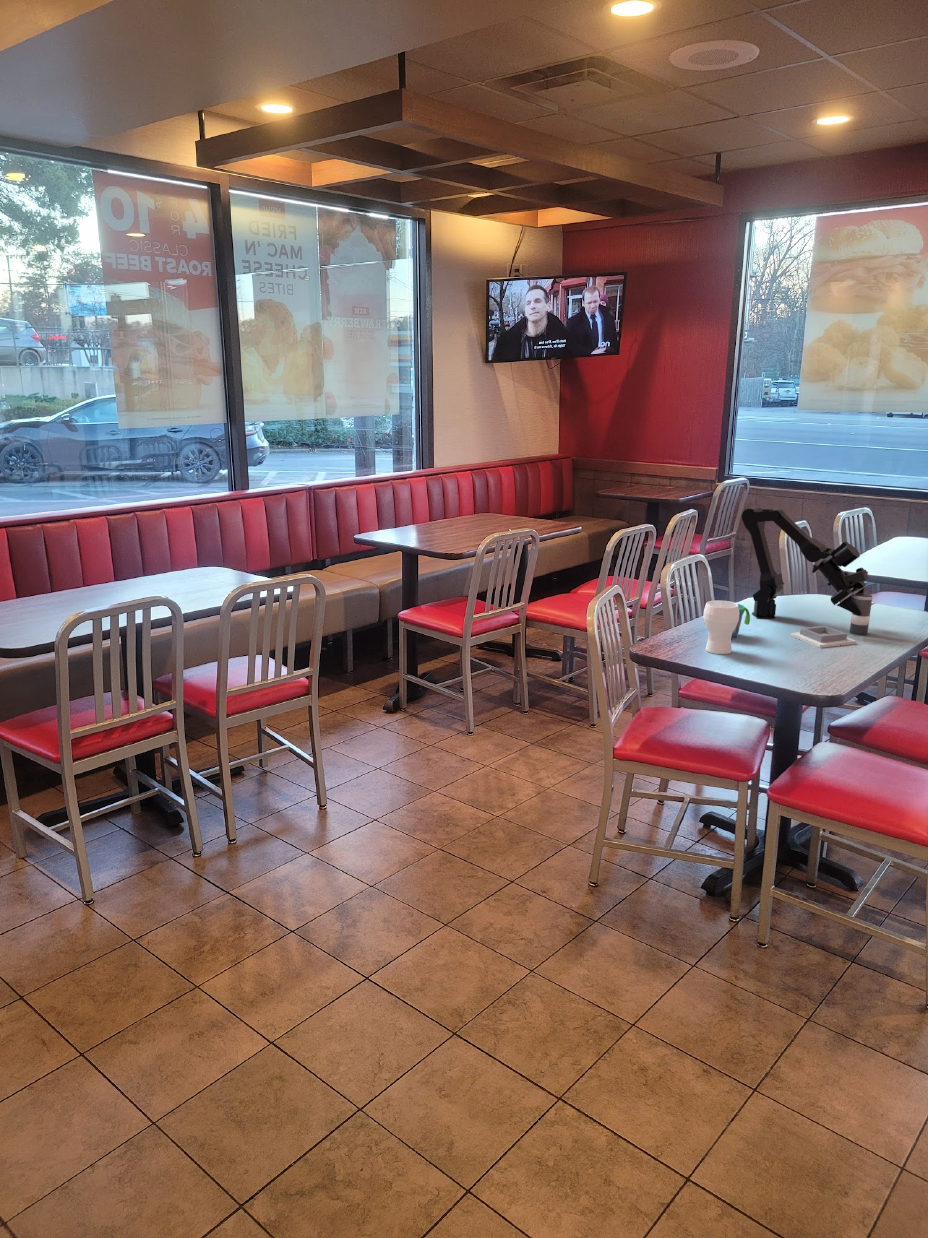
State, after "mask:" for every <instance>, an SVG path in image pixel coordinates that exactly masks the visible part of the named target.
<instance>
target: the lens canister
mask: <svg viewBox="0 0 928 1238" xmlns="http://www.w3.org/2000/svg"><path fill="white" fill-rule="evenodd" d="M872 601H873V595H872V594H869V593H865V594H864V593H856V594H854V602H855V603H856V605H857V607H858V608H859V610H860V611H861V613H862V615H861V616H858V615H856V614H854V613H852V612H851V619H850V626H849V634H851V635H854V634H855V635H856V636H867V635H868V634H869V632H868V631H869V626H870V619H871V609H872V604H873V603H872ZM855 635H854V636H855Z"/></svg>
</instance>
